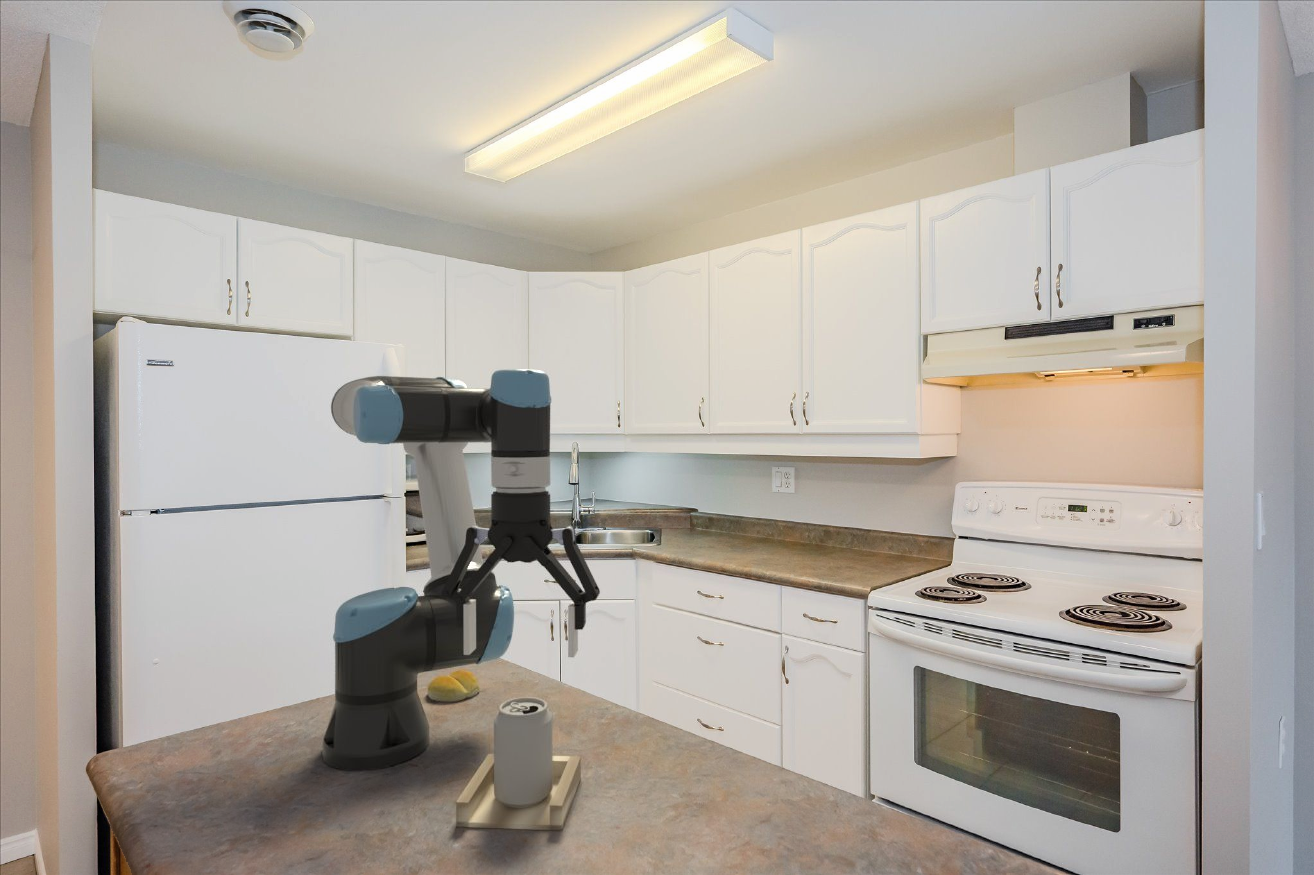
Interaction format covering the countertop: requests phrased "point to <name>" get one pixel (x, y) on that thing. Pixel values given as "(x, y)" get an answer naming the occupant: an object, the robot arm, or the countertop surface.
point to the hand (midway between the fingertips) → (521, 653)
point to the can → (523, 752)
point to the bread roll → (453, 686)
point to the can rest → (489, 812)
